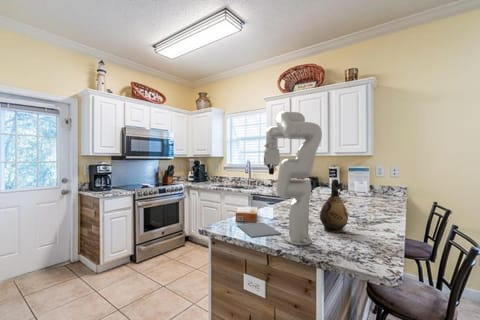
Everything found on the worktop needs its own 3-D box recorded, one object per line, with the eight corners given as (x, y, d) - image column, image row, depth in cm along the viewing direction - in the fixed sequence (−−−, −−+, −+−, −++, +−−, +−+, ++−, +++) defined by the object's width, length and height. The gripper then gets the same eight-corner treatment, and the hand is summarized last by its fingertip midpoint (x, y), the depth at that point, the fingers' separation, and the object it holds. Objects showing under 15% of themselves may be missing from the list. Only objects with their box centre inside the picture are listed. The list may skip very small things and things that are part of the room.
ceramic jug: (350, 235, 130) (352, 181, 130) (321, 233, 133) (322, 180, 133) (343, 226, 147) (344, 178, 146) (317, 224, 150) (318, 177, 149)
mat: (281, 234, 130) (281, 233, 130) (251, 237, 124) (251, 236, 124) (263, 223, 151) (263, 222, 151) (237, 225, 144) (237, 224, 144)
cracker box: (256, 223, 153) (257, 214, 173) (256, 213, 152) (258, 206, 173) (235, 221, 154) (238, 213, 175) (235, 212, 154) (239, 205, 175)
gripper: (264, 146, 150) (263, 174, 150) (284, 146, 155) (284, 174, 156) (259, 146, 157) (258, 174, 157) (278, 147, 162) (278, 173, 163)
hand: (271, 174), depth 157 cm, fingers closed
